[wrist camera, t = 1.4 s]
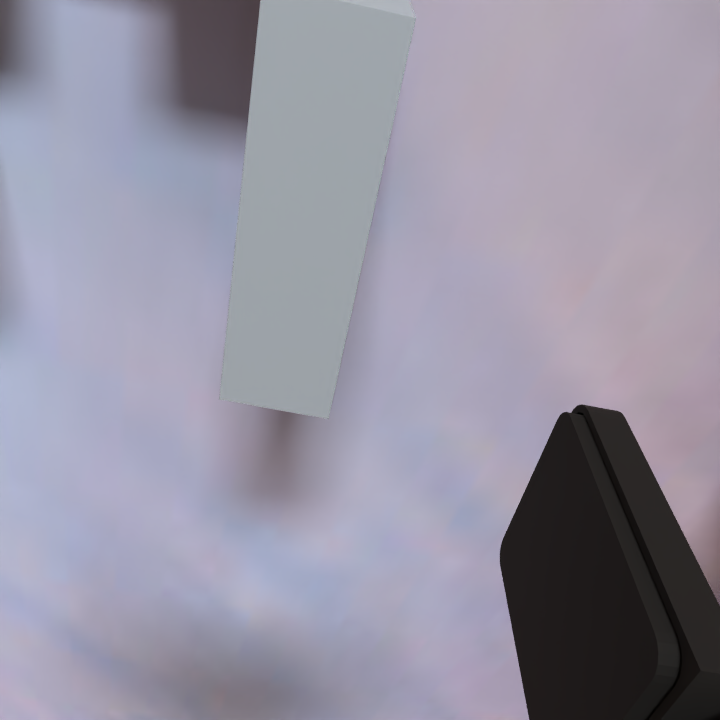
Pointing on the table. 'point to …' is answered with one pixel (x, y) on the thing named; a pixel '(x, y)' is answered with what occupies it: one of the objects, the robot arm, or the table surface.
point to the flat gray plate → (309, 193)
